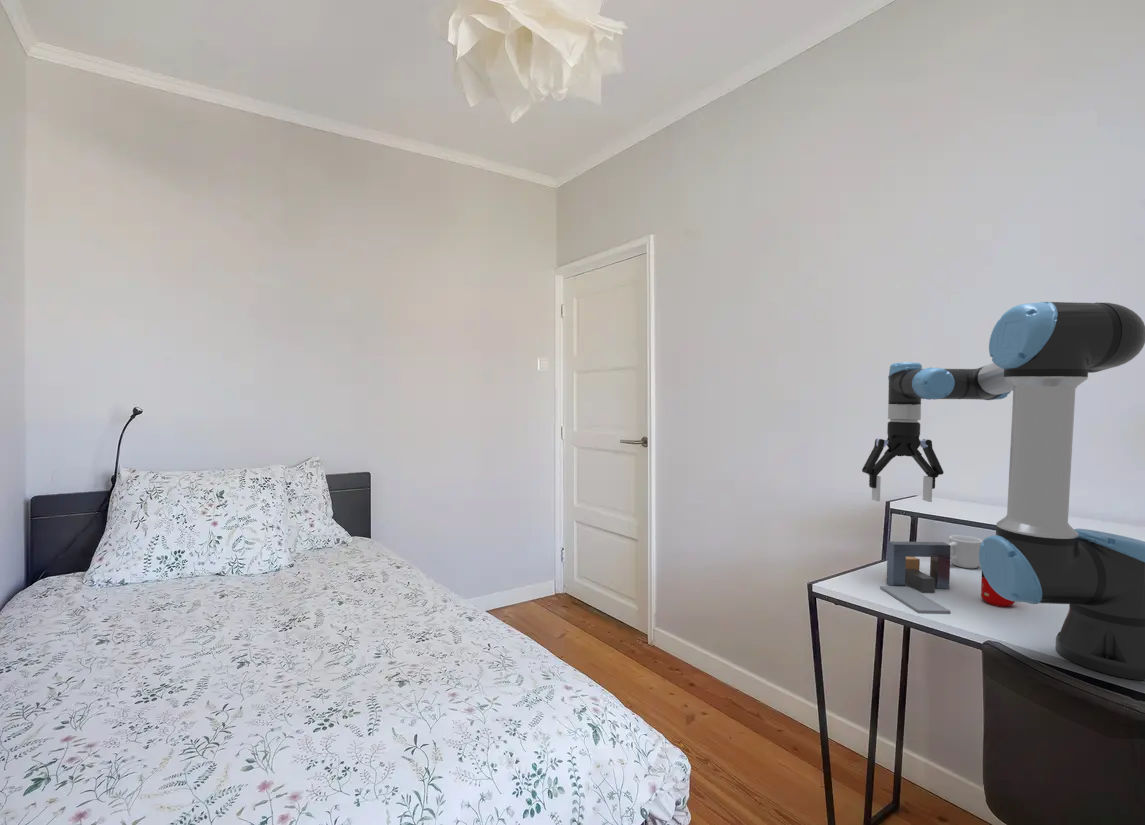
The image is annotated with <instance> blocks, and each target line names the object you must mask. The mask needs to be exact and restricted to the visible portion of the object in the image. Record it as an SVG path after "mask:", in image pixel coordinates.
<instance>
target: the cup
mask: <svg viewBox="0 0 1145 825" xmlns="http://www.w3.org/2000/svg"><path fill="white" fill-rule="evenodd" d="M983 540H984V539H981V538H979V537H975V536H970V535H969V536H968V535H962V534H952V535H949V537H948V542H949V543H947V544H949V545H951V548H950V562H951V563H952V565H954V566H956V567H959V568H964V569H976V568H979V566H980V561H979V548H980V545H981V543H982V542H983Z"/></svg>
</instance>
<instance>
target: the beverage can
mask: <svg viewBox="0 0 1145 825" xmlns="http://www.w3.org/2000/svg"><path fill="white" fill-rule="evenodd" d="M980 586H981V587H980V597H981V599H982V600H984V601H985V603H987V604H989V605H992V606H997V607H1002V608H1003V607H1005V608H1007V607H1010V606H1012V605H1014V604H1015V603H1016V602H1015V601H1010V600H1007V599H1005V598H1003V597H1002V596H1000V595H999V594H998V593H996V592H995V591H994V590H993V588H992V587H991V586H990V585H989V583H988V581H987V579H986V578H985V576H984V574H983V572H982V571H981V582H980Z"/></svg>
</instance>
